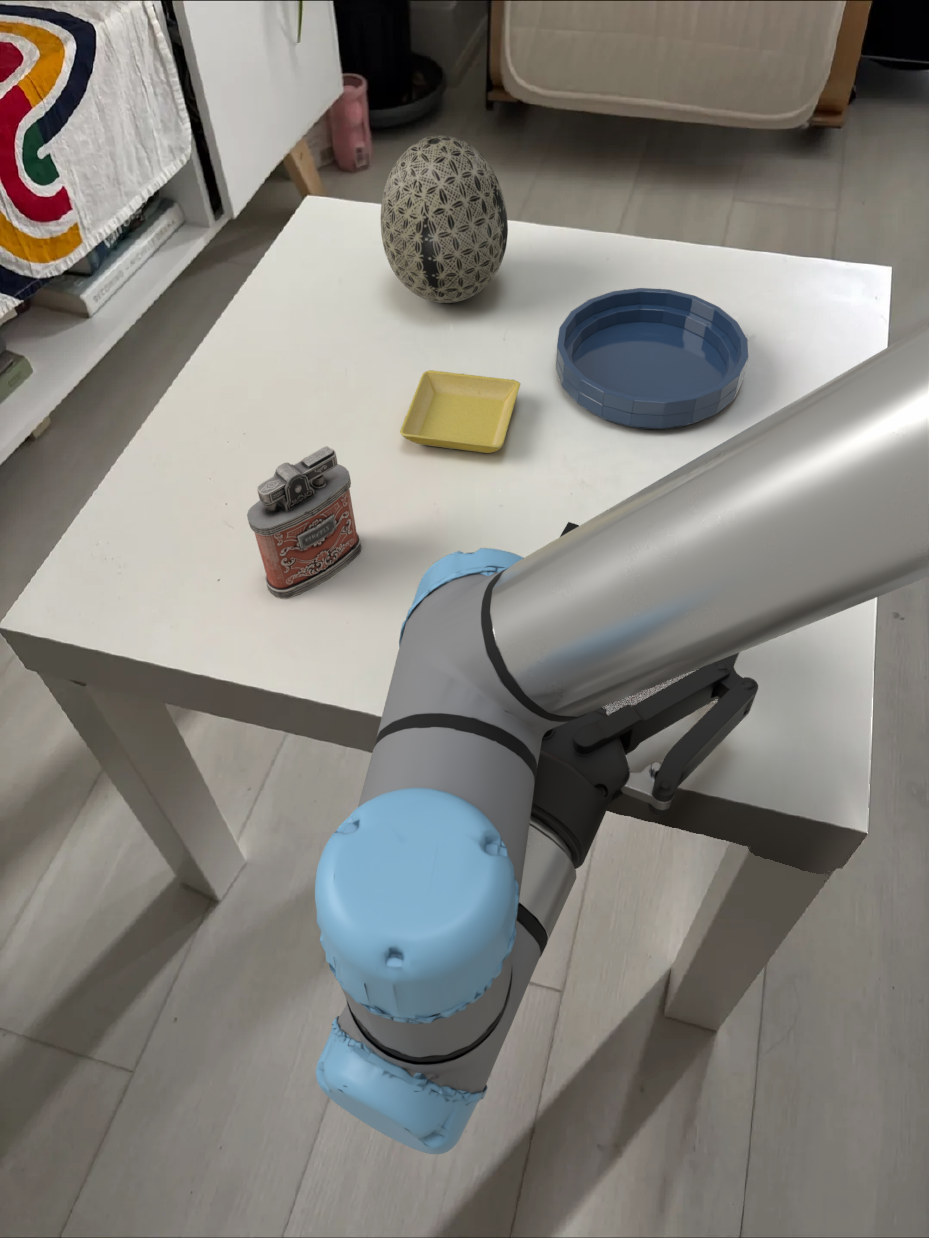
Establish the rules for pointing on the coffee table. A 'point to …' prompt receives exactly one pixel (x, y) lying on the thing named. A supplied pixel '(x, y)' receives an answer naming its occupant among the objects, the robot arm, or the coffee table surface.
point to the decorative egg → (443, 220)
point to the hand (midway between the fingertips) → (652, 563)
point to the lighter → (305, 523)
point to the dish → (651, 357)
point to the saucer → (460, 411)
